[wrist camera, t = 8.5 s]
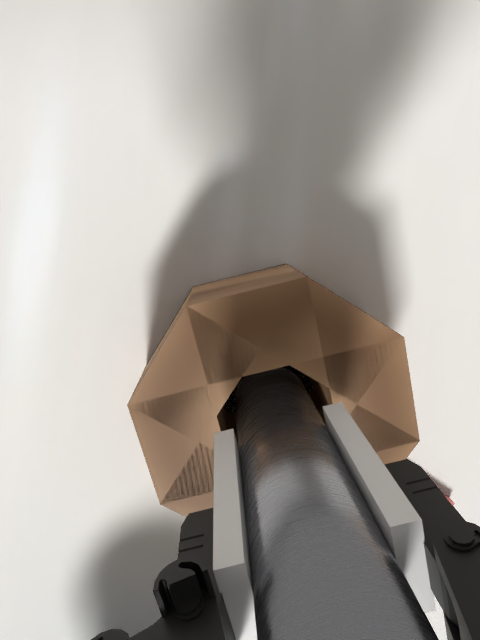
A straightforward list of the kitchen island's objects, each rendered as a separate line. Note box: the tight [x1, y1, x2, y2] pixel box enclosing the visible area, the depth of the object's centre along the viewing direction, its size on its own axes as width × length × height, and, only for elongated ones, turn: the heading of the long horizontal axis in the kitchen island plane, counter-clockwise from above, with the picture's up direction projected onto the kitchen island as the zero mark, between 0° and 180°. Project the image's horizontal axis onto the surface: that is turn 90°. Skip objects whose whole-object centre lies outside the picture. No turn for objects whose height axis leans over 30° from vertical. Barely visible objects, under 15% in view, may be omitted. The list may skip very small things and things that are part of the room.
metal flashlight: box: [234, 367, 438, 640], centre depth 13 cm, size 4×4×16 cm
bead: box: [127, 264, 420, 517], centre depth 21 cm, size 12×12×5 cm
